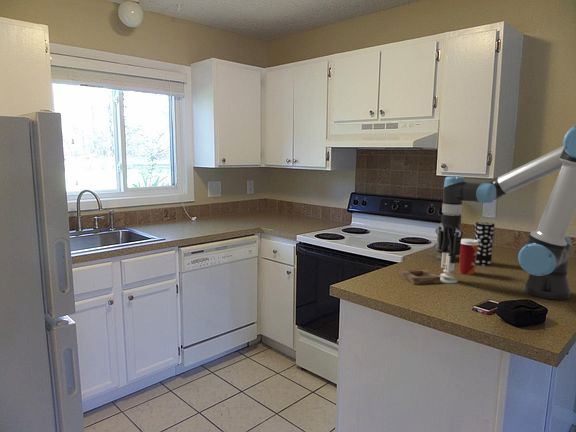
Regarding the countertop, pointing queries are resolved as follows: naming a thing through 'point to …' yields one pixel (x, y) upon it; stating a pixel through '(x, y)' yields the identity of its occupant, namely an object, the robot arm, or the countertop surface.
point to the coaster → (448, 280)
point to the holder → (419, 276)
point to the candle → (447, 273)
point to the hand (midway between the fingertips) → (447, 268)
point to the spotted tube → (484, 242)
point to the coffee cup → (468, 256)
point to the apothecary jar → (438, 244)
